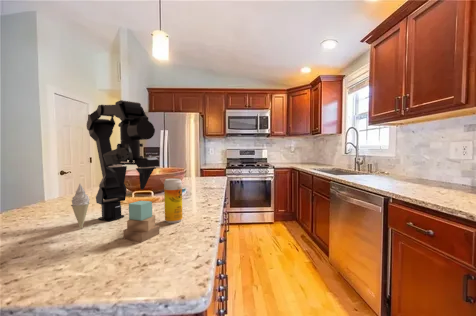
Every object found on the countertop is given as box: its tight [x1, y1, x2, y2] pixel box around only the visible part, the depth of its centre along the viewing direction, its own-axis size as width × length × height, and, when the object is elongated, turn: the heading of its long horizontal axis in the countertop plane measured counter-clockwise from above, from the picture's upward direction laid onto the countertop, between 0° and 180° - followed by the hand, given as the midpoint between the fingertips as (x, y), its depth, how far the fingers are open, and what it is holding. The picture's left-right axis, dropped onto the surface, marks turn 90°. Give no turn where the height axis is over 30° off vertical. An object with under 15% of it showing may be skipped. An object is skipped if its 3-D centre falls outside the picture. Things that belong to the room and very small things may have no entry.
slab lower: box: [122, 224, 160, 243], centre depth 71 cm, size 7×7×3 cm
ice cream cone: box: [70, 183, 90, 230], centre depth 78 cm, size 5×5×15 cm
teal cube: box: [128, 200, 153, 221], centre depth 70 cm, size 4×4×4 cm
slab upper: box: [126, 214, 156, 232], centre depth 71 cm, size 6×6×3 cm
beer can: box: [163, 177, 183, 224], centre depth 85 cm, size 6×6×15 cm
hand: (131, 188), depth 78 cm, fingers open, 9 cm apart
